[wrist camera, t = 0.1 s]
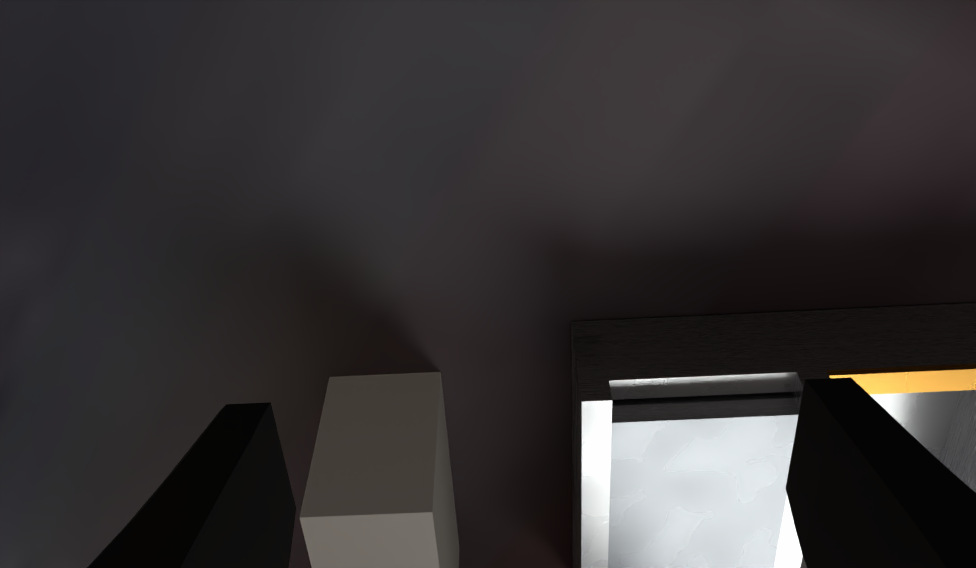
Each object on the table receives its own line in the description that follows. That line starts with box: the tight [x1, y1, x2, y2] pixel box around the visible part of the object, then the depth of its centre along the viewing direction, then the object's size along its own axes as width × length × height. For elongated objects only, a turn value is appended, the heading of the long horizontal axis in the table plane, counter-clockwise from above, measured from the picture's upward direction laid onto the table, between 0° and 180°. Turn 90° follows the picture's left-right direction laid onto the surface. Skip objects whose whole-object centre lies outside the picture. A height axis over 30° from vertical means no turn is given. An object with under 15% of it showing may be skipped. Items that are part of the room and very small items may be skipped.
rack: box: [571, 303, 976, 568], centre depth 25 cm, size 10×14×3 cm
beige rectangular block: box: [300, 372, 459, 568], centre depth 25 cm, size 7×3×5 cm, turn 3°
